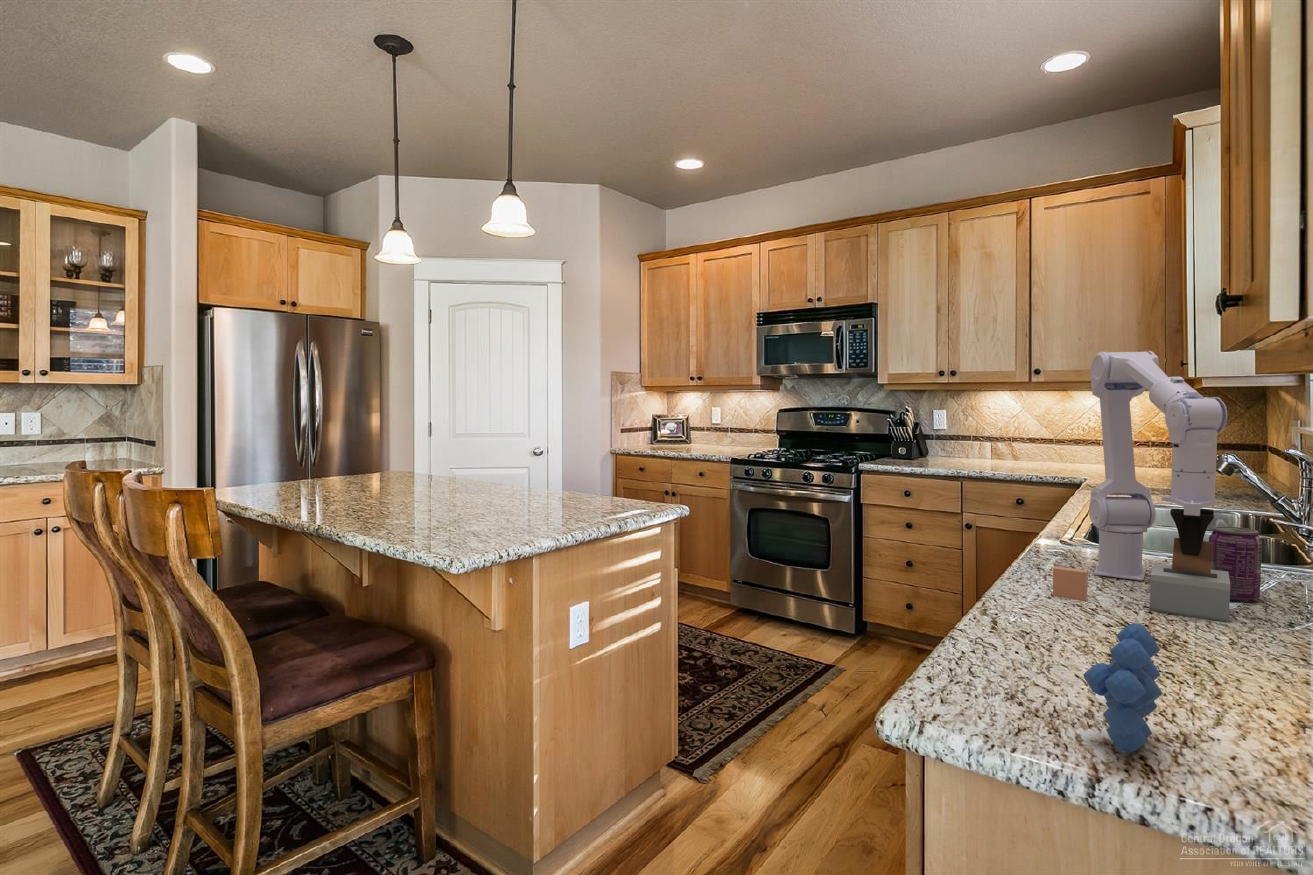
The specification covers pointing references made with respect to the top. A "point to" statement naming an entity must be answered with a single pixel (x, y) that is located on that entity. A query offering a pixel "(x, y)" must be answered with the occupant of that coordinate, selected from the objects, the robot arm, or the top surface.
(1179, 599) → the coin box
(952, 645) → the top surface
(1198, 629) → the top surface
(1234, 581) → the beverage can
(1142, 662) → the grapes
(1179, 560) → the block
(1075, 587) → the block
